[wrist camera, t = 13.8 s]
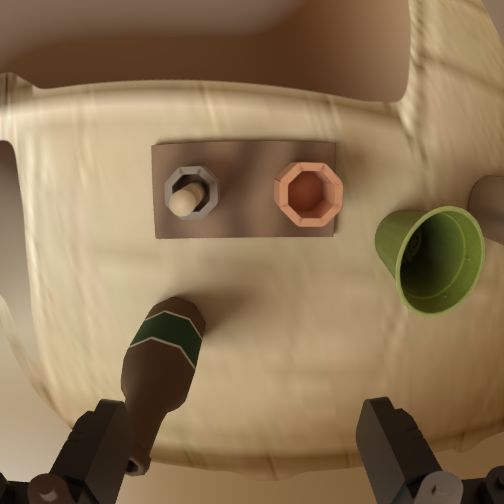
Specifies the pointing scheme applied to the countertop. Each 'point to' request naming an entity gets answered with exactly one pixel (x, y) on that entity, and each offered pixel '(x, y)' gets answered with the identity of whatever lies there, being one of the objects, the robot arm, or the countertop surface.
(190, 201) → the birch dowel
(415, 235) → the plant pot
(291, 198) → the terracotta cup
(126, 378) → the beer bottle
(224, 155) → the peg socket board
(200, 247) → the countertop surface
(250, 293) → the countertop surface
